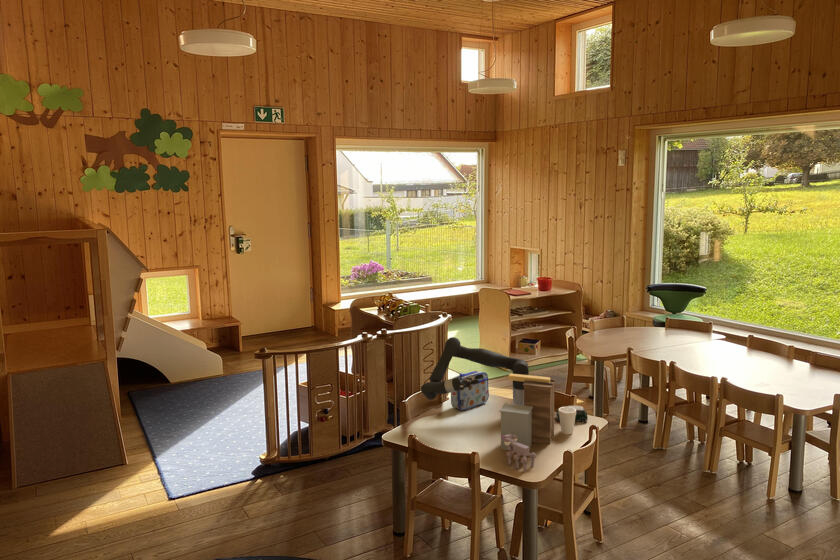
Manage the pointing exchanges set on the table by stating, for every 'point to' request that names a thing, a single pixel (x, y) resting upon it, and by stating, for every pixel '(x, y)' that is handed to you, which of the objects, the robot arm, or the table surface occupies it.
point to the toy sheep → (517, 451)
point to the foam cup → (567, 419)
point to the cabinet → (541, 409)
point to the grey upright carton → (516, 423)
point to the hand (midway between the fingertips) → (480, 378)
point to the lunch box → (471, 393)
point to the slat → (528, 378)
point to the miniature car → (577, 414)
